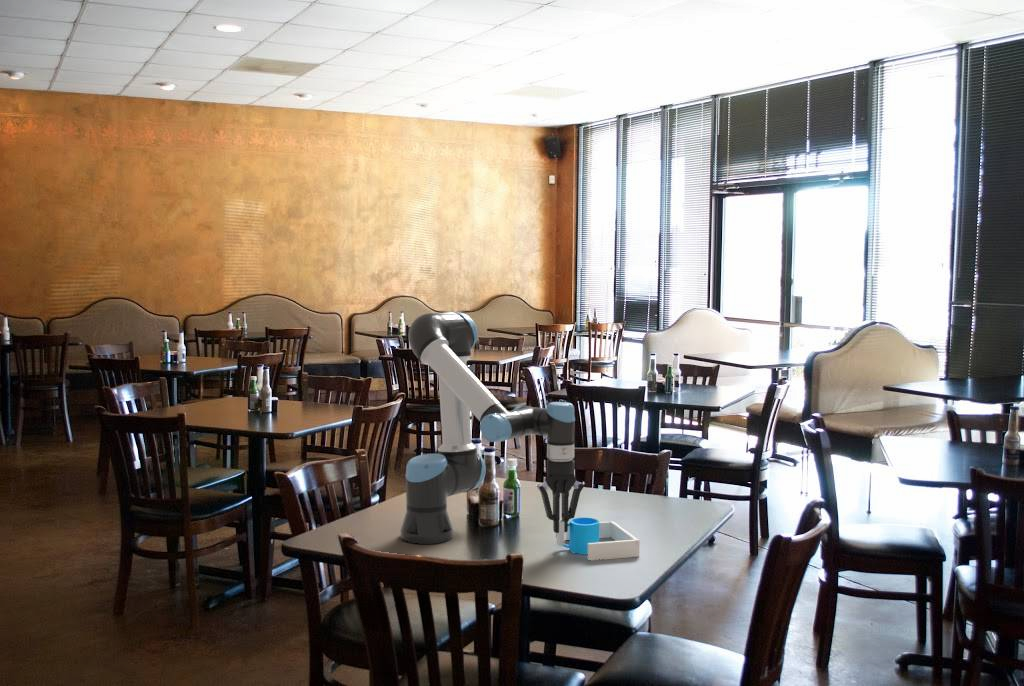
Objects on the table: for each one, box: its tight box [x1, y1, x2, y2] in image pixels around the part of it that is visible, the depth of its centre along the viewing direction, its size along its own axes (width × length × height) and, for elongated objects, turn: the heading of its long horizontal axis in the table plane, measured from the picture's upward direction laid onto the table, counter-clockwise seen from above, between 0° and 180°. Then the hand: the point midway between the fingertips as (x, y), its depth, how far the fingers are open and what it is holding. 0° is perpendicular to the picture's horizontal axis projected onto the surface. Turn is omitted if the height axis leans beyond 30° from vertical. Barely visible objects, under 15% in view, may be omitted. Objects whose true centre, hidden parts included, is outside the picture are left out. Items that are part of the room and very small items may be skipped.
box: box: [565, 520, 641, 561], centre depth 267 cm, size 14×20×4 cm
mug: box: [555, 516, 600, 555], centre depth 265 cm, size 12×8×8 cm
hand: (560, 543), depth 264 cm, fingers closed
